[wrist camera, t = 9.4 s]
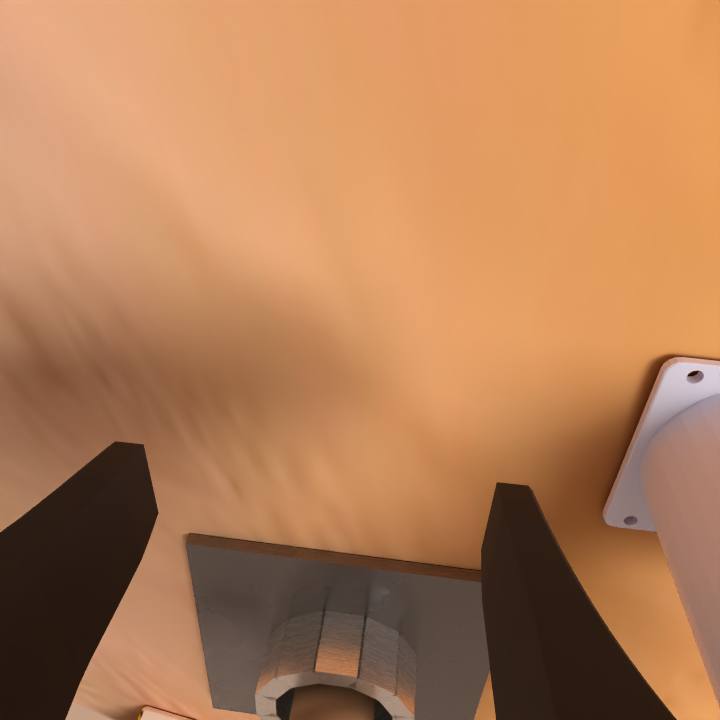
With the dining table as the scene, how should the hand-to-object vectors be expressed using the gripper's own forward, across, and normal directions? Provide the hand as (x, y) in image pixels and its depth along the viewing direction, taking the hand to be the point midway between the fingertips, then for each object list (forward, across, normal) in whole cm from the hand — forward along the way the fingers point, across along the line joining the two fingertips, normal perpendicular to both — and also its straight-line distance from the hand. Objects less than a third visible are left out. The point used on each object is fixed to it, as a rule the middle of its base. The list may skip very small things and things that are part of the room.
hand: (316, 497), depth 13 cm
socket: (+9, 0, +21) cm, 23 cm away
